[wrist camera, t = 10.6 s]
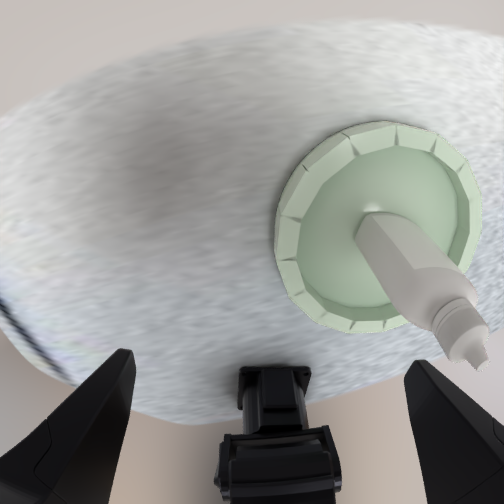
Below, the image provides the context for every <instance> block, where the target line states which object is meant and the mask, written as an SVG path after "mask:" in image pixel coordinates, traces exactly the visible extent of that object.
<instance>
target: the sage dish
mask: <svg viewBox="0 0 504 504" xmlns="http://www.w3.org/2000/svg"><path fill="white" fill-rule="evenodd" d="M371 213H391V214H396V215H400V216H402V217H405V218H407V219H409V220H410V221H412V222H413V223H415V224H416V225H417V226H419V227H420V228H421V229H422V230H423V231H424V232H425V233H426V234H427V235H428V236H429V237H430V238H431V239H432V240H433V241H434V242H435V243H436V244H437V245H438V246H439V248H440V249H441V250H442V251H443V252H444V253H445V254H446V255H447V256H448V257H449V258H450V259H451V260H452V261H453V262H454V264H455V265H456V266H457V267H458V268H459V269H460V270H461V271H462V272H463V274H464V273H465V272H466V271H467V269H468V268H469V266H470V263H471V261H472V258H473V255H474V252H475V250H476V247H477V244H478V241H479V238H480V235H481V231H482V195H481V191H480V189H479V186H478V184H477V181H476V179H475V176H474V174H473V172H472V169H471V167H470V165H469V162H468V160H467V159H466V158H465V157H464V156H463V155H462V154H461V153H460V152H458V151H457V150H456V149H455V148H454V147H453V146H452V145H450V144H449V143H448V142H447V141H446V140H445V139H444V138H442V137H441V136H440V135H439V134H437V133H434V132H431V131H428V130H425V129H422V128H417V127H413V126H408V125H405V124H402V123H396V122H389V121H381V122H369V123H363V124H358V125H355V126H352V127H349V128H346V129H344V130H342V131H340V132H338V133H336V134H334V135H332V136H330V137H329V138H327V139H326V140H324V141H323V142H321V143H320V144H319V145H317V146H316V147H315V148H314V149H313V150H312V151H311V152H310V153H308V154H307V155H306V156H305V158H304V159H303V160H302V161H301V162H300V164H299V165H298V166H297V167H296V169H295V170H294V172H293V173H292V175H291V176H290V178H289V180H288V181H287V183H286V186H285V188H284V190H283V192H282V194H281V197H280V200H279V204H278V207H277V211H276V217H275V228H274V238H275V240H274V253H275V259H276V263H277V266H278V269H279V271H280V274H281V277H282V280H283V283H284V285H285V288H286V291H287V294H288V297H289V299H290V300H291V301H293V302H294V303H295V304H296V305H297V306H298V307H299V308H300V309H301V310H302V311H303V312H304V313H305V314H306V315H307V316H308V317H309V318H310V319H312V320H313V321H314V322H315V323H318V324H321V325H323V326H326V327H329V328H332V329H335V330H338V331H341V332H344V333H348V334H351V333H376V332H385V331H388V330H390V329H393V328H396V327H398V326H401V325H404V324H407V323H409V321H408V320H406V319H405V318H404V317H403V316H402V315H401V314H400V313H399V312H398V311H397V310H396V309H395V307H394V306H393V305H392V303H391V301H390V300H389V298H388V296H387V295H386V293H385V292H384V290H383V288H382V286H381V285H380V283H379V281H378V280H377V278H376V276H375V275H374V273H373V271H372V270H371V268H370V266H369V265H368V263H367V261H366V260H365V258H364V256H363V255H362V253H361V252H360V250H359V248H358V247H357V245H356V243H355V236H356V234H357V232H358V230H359V228H360V225H361V223H362V221H363V219H364V218H365V217H366V216H367V215H369V214H371Z"/></svg>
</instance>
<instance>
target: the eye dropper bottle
mask: <svg viewBox="0 0 504 504" xmlns="http://www.w3.org/2000/svg"><path fill="white" fill-rule="evenodd" d="M355 243H356V245H357V247H358V248H359V250H360V252H361V253H362V255H363V256H364V258H365V260H366V261H367V263H368V265H369V266H370V268H371V270H372V271H373V273H374V275H375V276H376V278H377V280H378V281H379V283H380V285H381V286H382V288H383V290H384V292H385V293H386V295H387V296H388V298H389V300H390V301H391V303H392V305H393V306H394V307H395V309H396V310H397V311H398V312H399V313H400V314H401V315H402V316H403V317H404V318H405V319H406V320H408V321H409V322H410V323H412V324H414V325H415V326H417V327H420V328H422V329H424V330H427V331H431V332H433V334H434V335H435V337H436V339H437V340H438V342H439V344H440V345H441V347H442V349H443V351H444V352H445V354H446V356H447V358H448V359H449V360H450V361H451V362H456V363H457V362H463V361H465V360H467V361H468V362H469V363H470V364H471V365H472V366H473V367H474V368H475V369H476V370H477V371H478V372H479V371H482V370H484V369H485V368H486V367H487V366H488V365H489V359H488V356H487V353H486V351H485V348H484V345H485V343H486V341H487V339H488V337H489V331H490V330H489V327H488V325H487V324H486V322H485V321H484V319H483V318H482V317H481V316H480V314H479V313H478V312H477V310H476V309H475V308H476V305H477V303H478V294H477V291H476V289H475V287H474V286H473V285H472V283H471V282H470V281H469V279H468V278H467V277H466V276H465V275H464V274H463V272H462V271H461V270H460V269H459V268H458V267H457V266H456V265H455V264H454V262H453V261H452V260H451V259H450V258H449V257H448V256H447V255H446V254H445V253H444V252H443V251H442V250H441V249H440V248H439V246H438V245H437V244H436V243H435V242H434V241H433V240H432V239H431V238H430V237H429V236H428V235H427V234H426V233H425V232H424V231H423V230H422V229H421V228H420V227H419V226H417V225H416V224H415V223H413V222H412V221H410V220H409V219H407V218H405V217H402V216H400V215H396V214H391V213H371V214H369V215H367V216H366V217H365V218H364V219H363V221H362V223H361V225H360V228H359V230H358V232H357V234H356V236H355Z"/></svg>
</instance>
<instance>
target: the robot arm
mask: <svg viewBox="0 0 504 504" xmlns="http://www.w3.org/2000/svg"><path fill="white" fill-rule="evenodd" d="M135 377H136V365H135V360H134V355H133V352H132V350H129V349H123V348H120V349H118V350H116V351H115V352H114V353H113V354H112V355H111V356H110V357H109V358H108V359H107V360H106V361H105V362H104V363H103V364H102V365H101V366H100V367H99V368H98V369H97V370H95V371H94V372H93V373H92V374H91V375H90V376H89V377H88V378H87V379H86V380H85V381H84V382H83V383H82V384H81V385H80V386H79V387H78V388H77V389H76V390H75V391H74V392H73V393H72V394H71V395H70V396H69V397H68V398H66V399H65V400H64V402H62V403H61V404H60V405H59V406H58V407H57V408H56V409H55V410H54V411H53V412H52V413H51V414H50V415H49V416H48V417H47V419H45V420H44V421H43V422H42V423H41V424H40V425H39V426H38V427H37V428H36V429H34V431H32V432H31V433H30V434H29V435H28V436H27V437H26V438H24V439H23V440H22V441H21V442H19V443H18V444H17V445H16V446H14V447H13V448H12V449H11V450H9V451H8V452H7V453H5V454H4V455H3V456H1V457H0V504H108V503H109V498H110V493H111V488H112V485H113V480H114V476H115V472H116V467H117V463H118V459H119V455H120V451H121V447H122V444H123V440H124V436H125V432H126V428H127V425H128V421H129V416H130V410H131V403H132V396H133V390H134V383H135ZM310 377H311V369H310V368H307V367H305V368H241V369H240V370H239V386H238V409H239V410H243V434H239V435H231V434H225V435H224V442H222V443H220V449H219V462H218V466H217V469H216V473H215V477H214V484H215V485H216V486H217V487H218V488H219V489H220V492H221V494H222V498H223V501H224V502H230V504H336V500H335V493H336V492H340V490H341V486H342V475H341V466H340V461H339V457H338V454H337V450H336V447H335V444H334V441H333V438H332V435H331V432H330V429H329V426H328V425H326V426H322V427H317V428H310V429H309V425H308V419H307V412H306V406H305V400H304V397H305V394H306V391H307V387H308V384H309V381H310ZM404 385H405V392H406V398H407V405H408V411H409V417H410V422H411V427H412V431H413V435H414V439H415V443H416V448H417V452H418V457H419V462H420V466H421V471H422V476H423V481H424V486H425V492H426V497H427V503H428V504H504V426H503V425H502V424H501V423H499V422H498V421H497V420H496V419H495V418H493V417H492V416H491V415H490V414H489V413H488V412H486V411H485V410H484V409H483V408H482V407H481V406H480V405H479V404H477V403H476V402H475V401H474V400H473V399H472V398H470V397H469V396H468V395H467V394H466V393H464V392H463V391H462V390H461V389H459V387H457V386H456V385H455V384H454V383H452V382H451V381H450V380H449V379H448V378H447V377H446V376H444V375H443V374H442V373H441V372H439V371H438V370H437V369H436V368H435V367H434V366H432V365H431V364H430V363H429V362H428V361H426V360H415V361H414V362H413V363H412V365H411V366H410V368H409V370H408V371H407V373H406V374H405V377H404Z"/></svg>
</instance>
